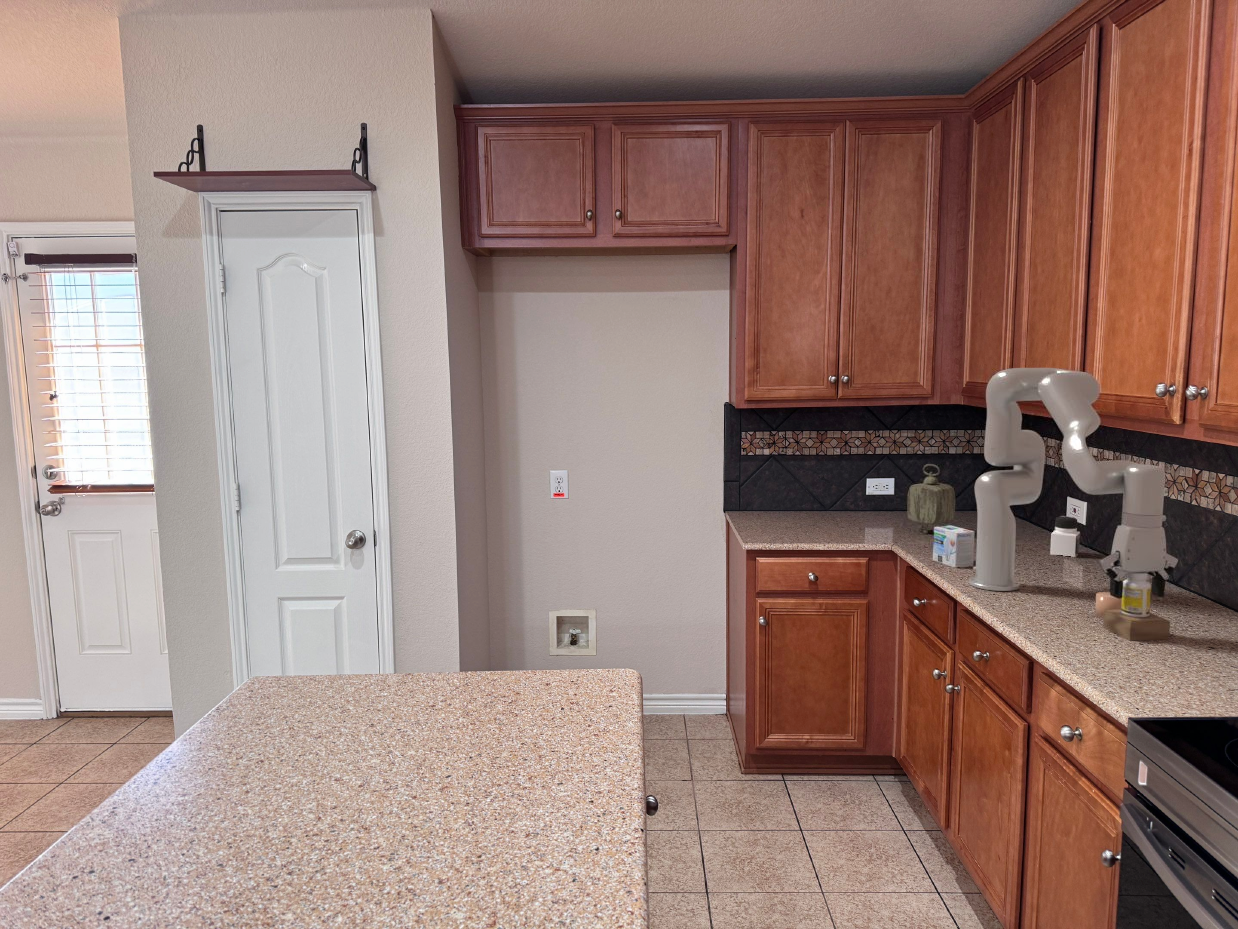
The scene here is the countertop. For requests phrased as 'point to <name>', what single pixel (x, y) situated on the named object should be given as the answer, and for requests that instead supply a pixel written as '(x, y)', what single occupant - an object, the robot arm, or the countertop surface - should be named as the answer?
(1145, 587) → the supplement bottle
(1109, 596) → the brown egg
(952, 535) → the light bulb box
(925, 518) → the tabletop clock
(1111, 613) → the brown square block
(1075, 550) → the medicine bottle
